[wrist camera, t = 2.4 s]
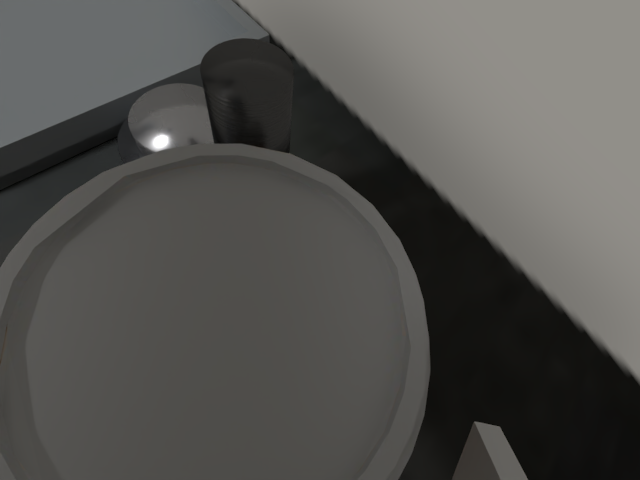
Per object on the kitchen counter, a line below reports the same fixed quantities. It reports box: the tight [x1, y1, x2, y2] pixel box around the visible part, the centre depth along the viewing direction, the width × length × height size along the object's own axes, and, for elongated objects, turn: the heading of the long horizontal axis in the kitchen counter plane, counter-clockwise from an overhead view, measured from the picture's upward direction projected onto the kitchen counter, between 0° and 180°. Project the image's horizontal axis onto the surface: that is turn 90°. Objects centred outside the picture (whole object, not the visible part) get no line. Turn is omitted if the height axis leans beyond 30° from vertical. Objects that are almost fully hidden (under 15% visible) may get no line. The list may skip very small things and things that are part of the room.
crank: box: [128, 38, 294, 156], centre depth 17 cm, size 12×5×9 cm, turn 40°
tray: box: [0, 0, 269, 190], centre depth 26 cm, size 20×20×2 cm
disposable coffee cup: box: [0, 144, 431, 480], centre depth 13 cm, size 10×10×12 cm
